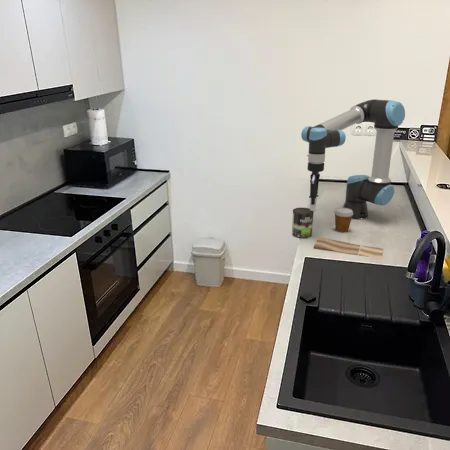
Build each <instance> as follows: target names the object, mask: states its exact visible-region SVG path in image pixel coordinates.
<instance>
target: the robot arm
mask: <svg viewBox="0 0 450 450" xmlns="http://www.w3.org/2000/svg"><path fill="white" fill-rule="evenodd" d="M405 117H406V110H405V106H404V105H403V104H402V102H400V101H396V100H388V99H369V100H366V101H363V102H360V103H357V104H355V105H353V106H352V107H350V109H349V110H347V111H344V112H342V113H341V114H338V115H336V116H334V117H332V118H328V119H327V120H325V121H324V122H320V123H319V124H317V125H314V126H305V127H304V128H303V129H302V130H301V134H300V135H301V139H302V141H304V142H306V143H308V153H307V154H306V156H307V157H308V159H307V161H308V162H307V167H306V168H307V171H308V172H311V174H310V177H309V179H310V180H309V182H310V183H309V184H310V188H309V189H310V192H309V193H310V194H309V197H308V198H309V199H310V202H309V209H310V210H311V211H314V212H315V211H316V210H317V201H318V200H317V199H318V198H319V194H318V193H319V192H318V191H319V182H320V177H321V174H320V172H321V173H322V172H323V171H324V170H325V159H326V149H328V148H335V147H336V148H337V147H341V146H343V145H344V144H345V142H346V138H347V137H346V133H345V132H344V131H343V130H345V129H347V128H349V127H351V126H354V125H355V124H357V125H359V124H362V123H373V128H374V129H375V130H376V133H375V144H374V149H373V150H374V152H373V160H372V168H371V175H370V176H369V175H365V174H357V175H350V176H348V178H347V182H346V191H345V201H344V203H343V206H342V207H341V208H348V209H351V210H352V211H353V215H352V218H355V219H354V220H356V219H357V220H362V219H361V218H364V219H366V217H367V218H368V217H369V209H368V204H367V202H369V203H370V204H374V205H377V206H386V205H388V204H389V203H390V202H391V201H392V199H393V198H394V195H395V188H394V186H393V185H392V184H391V183H392V179H391V178H390V176H389V174H390V167H391V160H392V154H393V153H392V151H393V144H394V139H395V138H394V137H395V132H396V131H397V130H398V129H399V126H401V125H402V124H403V123H404V122H403V121H405ZM352 218H351V219H352Z"/></svg>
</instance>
